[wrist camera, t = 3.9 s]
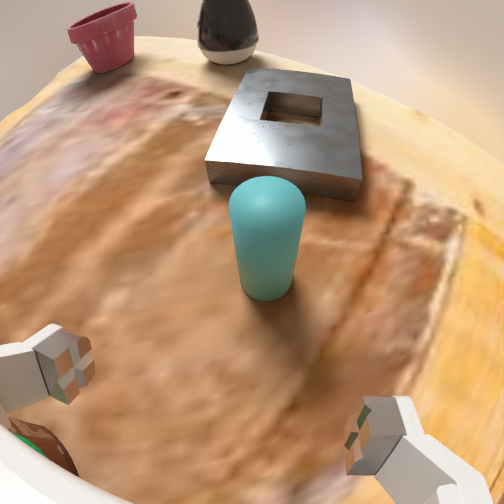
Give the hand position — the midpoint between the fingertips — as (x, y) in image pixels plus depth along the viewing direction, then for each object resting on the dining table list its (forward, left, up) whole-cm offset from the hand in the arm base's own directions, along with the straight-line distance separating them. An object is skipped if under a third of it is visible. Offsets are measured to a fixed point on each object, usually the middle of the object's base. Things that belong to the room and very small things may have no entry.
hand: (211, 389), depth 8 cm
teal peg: (0, +10, -13) cm, 16 cm away
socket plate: (0, +29, -13) cm, 31 cm away
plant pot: (-39, +52, -13) cm, 66 cm away
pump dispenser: (-13, +49, -13) cm, 52 cm away
